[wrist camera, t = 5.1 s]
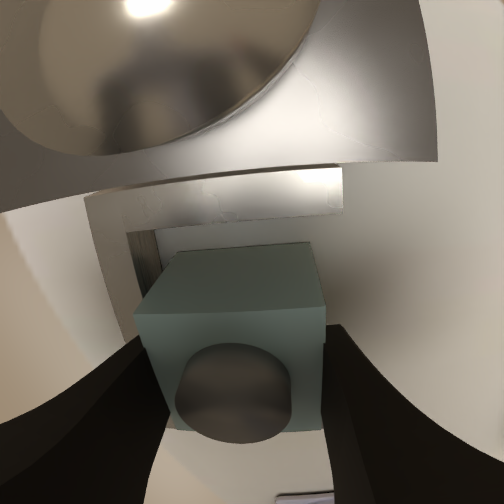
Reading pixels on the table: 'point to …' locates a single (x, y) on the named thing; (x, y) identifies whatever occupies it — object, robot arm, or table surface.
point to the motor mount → (203, 113)
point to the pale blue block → (238, 340)
